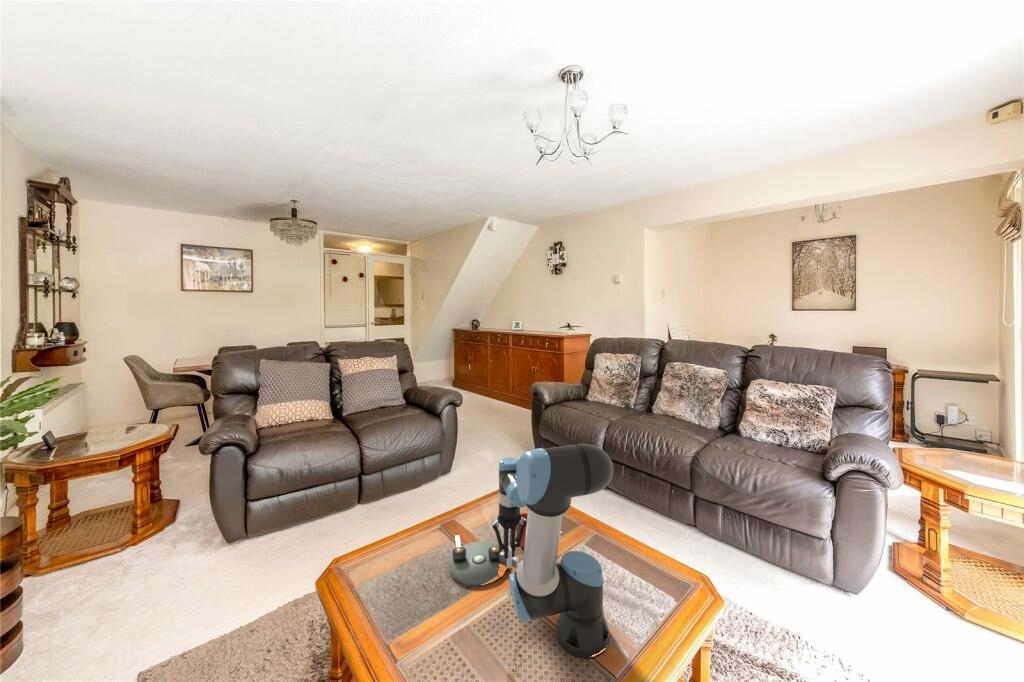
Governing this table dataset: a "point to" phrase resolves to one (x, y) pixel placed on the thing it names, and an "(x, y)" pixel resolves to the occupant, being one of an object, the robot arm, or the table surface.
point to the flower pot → (524, 530)
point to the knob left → (459, 551)
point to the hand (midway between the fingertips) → (509, 565)
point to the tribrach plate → (475, 565)
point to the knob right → (500, 556)
